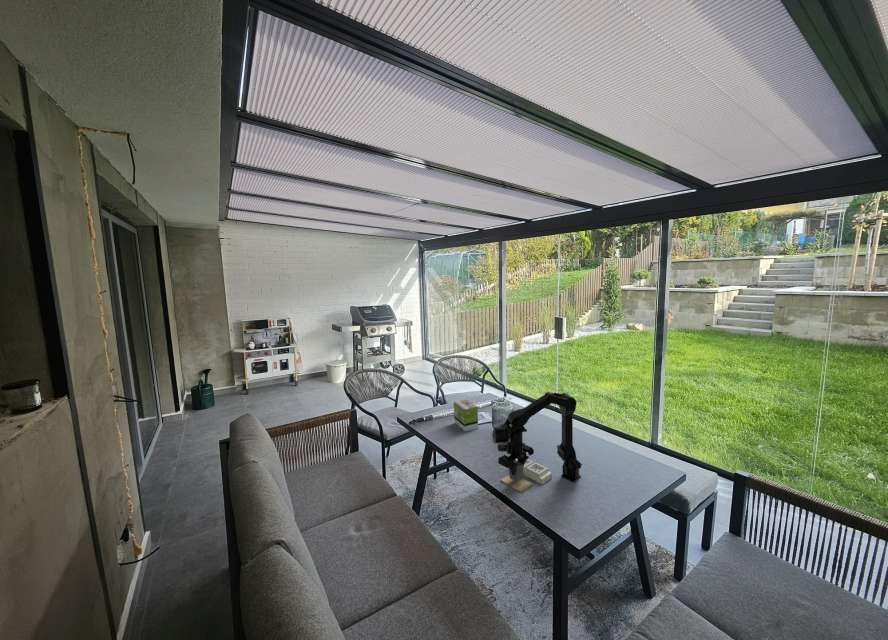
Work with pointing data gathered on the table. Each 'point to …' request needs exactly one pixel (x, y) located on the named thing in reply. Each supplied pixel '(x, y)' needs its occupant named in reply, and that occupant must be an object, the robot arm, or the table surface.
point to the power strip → (536, 471)
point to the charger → (517, 472)
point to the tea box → (466, 415)
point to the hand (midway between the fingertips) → (516, 473)
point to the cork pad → (517, 483)
